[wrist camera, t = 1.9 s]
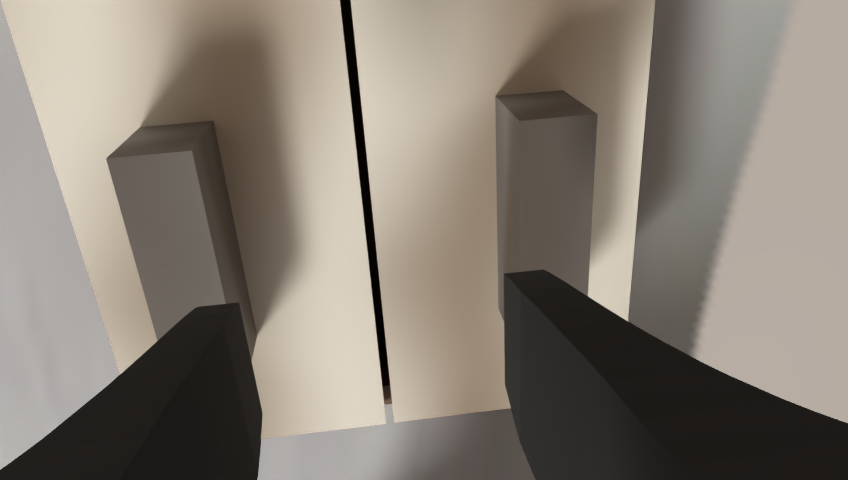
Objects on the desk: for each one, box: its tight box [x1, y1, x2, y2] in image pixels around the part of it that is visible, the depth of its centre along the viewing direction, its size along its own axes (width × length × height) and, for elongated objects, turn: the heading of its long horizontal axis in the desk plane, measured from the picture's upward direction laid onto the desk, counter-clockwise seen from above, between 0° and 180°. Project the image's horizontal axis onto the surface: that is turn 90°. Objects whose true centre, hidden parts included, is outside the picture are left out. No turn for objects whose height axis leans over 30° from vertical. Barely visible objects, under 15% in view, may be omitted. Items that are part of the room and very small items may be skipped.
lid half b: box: [351, 0, 655, 423], centre depth 14 cm, size 6×11×3 cm, turn 3°
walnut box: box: [340, 0, 392, 404], centre depth 16 cm, size 12×11×4 cm
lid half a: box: [1, 0, 386, 439], centre depth 13 cm, size 6×11×3 cm, turn 3°
